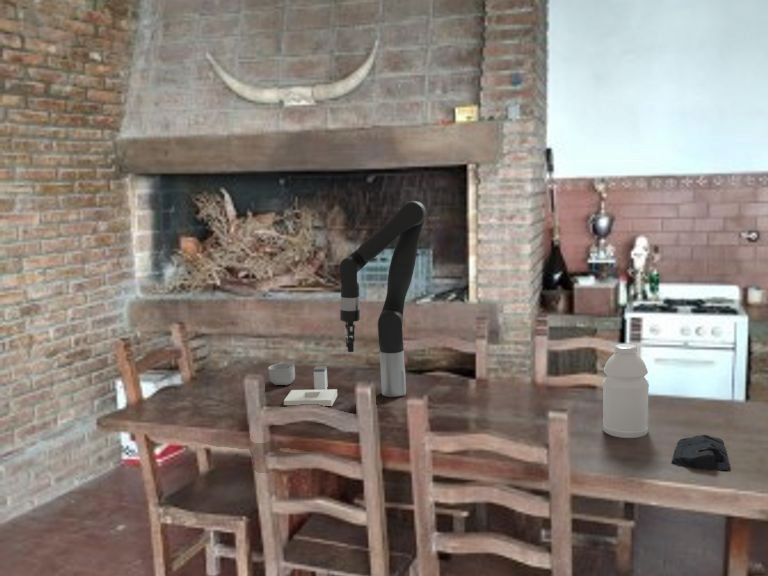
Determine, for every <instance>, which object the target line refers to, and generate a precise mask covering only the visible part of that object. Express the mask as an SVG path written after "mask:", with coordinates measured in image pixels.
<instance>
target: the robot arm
mask: <svg viewBox="0 0 768 576" xmlns="http://www.w3.org/2000/svg"><path fill="white" fill-rule="evenodd" d="M426 217H427V211H426V208H425V205H424V204H423V203H422V202H420V201H417V200H411V201H407V202H405V203H404V204H403V205H402V206H401V208H400V209H399V210H398V211H397V213H396V214H395V215H394V216H393V217H392V218H391V220H389V221H388V222H387V223H386V224H385V225H384V226H383V227H381V228H380V229H379V230H377V232H375V233H374V234H372V235H371V236H370V237H369V238H367V239H366V240H365V241H364V242H363V243H362V244H360V246H359V247H358V248H357V249H356V250H355V251H353V252H352V253H351V254H350V255H348V256H347V257H345V258H343V259H342V260H341V261H340V262H339V263H340V264H339V279H340V284H341V286H340V303H339V305H340V306H339V307H340V308H339V311H340V314H339V315H340V316H339V318H340V321H341V322H345V324H344V334H345V340H346V341H345V342H346V343H345V346H346V347H347V352H348V353H353V352H354V351H355V350H354V348H355V347H354V346H355V340H356V339H355V336H356V325H355V324H354V322H359V321H360V320H361V317H360V316H361V310H360V309H361V308H360V307H361V304H360V302H361V301H360V284H359V283H358V273H359V271H361V270H362V269H363V268H364V267H365V266H366V265H367V264H368V263H369V262H371V261H372V260H374V259H375V258H376V257H377V256H379V255H380V254H381V253H382V252H383V251H384V250H385V249H386V248H388V247H389V246H390V245H391V244H392V242H393V241H395V240H396V238H398V240H397V243H396V245H395V248H394V249H393V250H394V251H393V253H392V255H391V259H390V265H389V269H388V274H387V275H388V276H387V284H386V285H387V287H386V289H387V290H386V296H385V297H386V298H385V300H384V303H383V307H382V309H381V311H380V312H381V313H380V315H379V316H378V319H377V331H378V332H377V333H378V334H377V335H378V344H379V360H380V361H379V362H380V364H379V365H380V379H381V380H380V382H381V383H380V384H381V394H382V396H383V397H389V398H394V397H395V398H396V397H403V396H406V392H407V384H406V368H405V348H404V335H403V323H404V321H403V320H404V308H405V303H406V302H405V300H406V296H407V294H408V291H409V289H410V286H411V282H412V279H413V274H414V270H415V266H416V260H417V254H418V246H419V245H418V244H419V240H420V235H421V232H422V229H423V225H424V223H425V220H426ZM398 236H399V237H398Z"/></svg>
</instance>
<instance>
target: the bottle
mask: <svg viewBox="0 0 768 576" xmlns="http://www.w3.org/2000/svg"><path fill="white" fill-rule="evenodd" d="M614 352H615V353H613V354H612V355H611V356H610V357H609V358H608V360H607V361H606V363H605V364H604V368H603V372H604V374H605V375H606V377H605V378H604V379H603V380H602V402H603V403H602V411H603V412H602V413H603V414H602V416H603V417H602V418H603V420H602V429H603V432H604V433H605V434H607V435H609V436H612V437H615V438H622V439H634V438H635V439H637V438H642V437H645V436H646V435H647V434H648V433H649V385H650V384H649V380H647V379H646V378H645V376H647V374H649V372H648V368H647V365H646V363H645V362H644V360H643V359H642V358H641V356H640V355H639V354H637V352H638V349H637V345H635V344H632V343H618V344H615V346H614Z"/></svg>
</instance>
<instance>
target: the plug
mask: <svg viewBox="0 0 768 576" xmlns="http://www.w3.org/2000/svg"><path fill="white" fill-rule="evenodd" d="M327 367H328V366H327V365H315V367H314V368H313V370H312V371H313V387H314V389H313V390H321V389H328V388H327V387H329V386H328V370H327Z"/></svg>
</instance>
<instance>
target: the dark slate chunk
mask: <svg viewBox="0 0 768 576" xmlns="http://www.w3.org/2000/svg"><path fill="white" fill-rule="evenodd" d="M724 442H725V441H724V440H723V439H721V438H718V437H715V436H710V435H707V434H700V435H695V436H692V437H684V438H680V439H679V440H678V441H677V443H676V446H675V448H674V451H673V455H672V459H671V462H670V463H671V464H673V465H675V466H676V467H683V468H691V469H693V470H694V469H695V470H701V471H702V470H703V471H704V470H705V471H720V472H721V471H725V472H726V471H729V470H730V468H731V465H730V461H729V458H728V451H727V450H726V447H725V443H724Z"/></svg>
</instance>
